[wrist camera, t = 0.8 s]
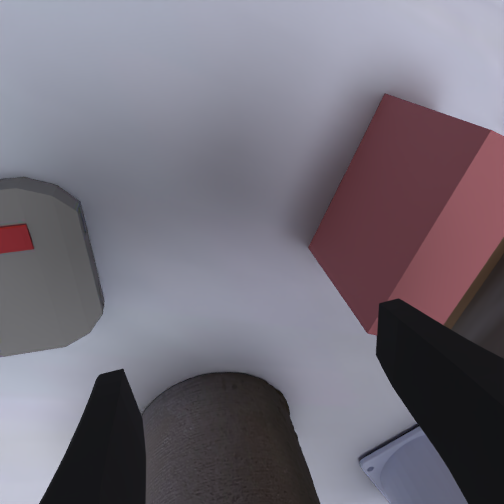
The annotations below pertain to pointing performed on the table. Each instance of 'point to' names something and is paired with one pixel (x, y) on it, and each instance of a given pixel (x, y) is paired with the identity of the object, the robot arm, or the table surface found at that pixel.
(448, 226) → the book
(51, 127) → the table surface
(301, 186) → the table surface
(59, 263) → the remote control
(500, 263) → the book stand
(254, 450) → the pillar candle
